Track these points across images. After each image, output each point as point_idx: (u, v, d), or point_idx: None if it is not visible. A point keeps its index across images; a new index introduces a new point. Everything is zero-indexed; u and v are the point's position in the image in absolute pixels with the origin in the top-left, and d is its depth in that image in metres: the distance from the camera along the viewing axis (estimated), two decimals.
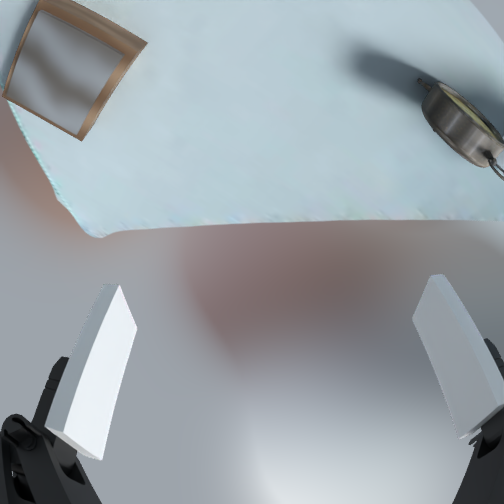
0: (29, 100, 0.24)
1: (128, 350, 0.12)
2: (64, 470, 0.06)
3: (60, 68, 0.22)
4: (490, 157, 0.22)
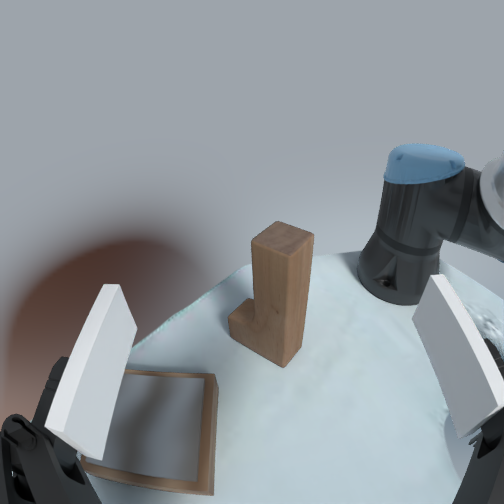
0: None
1: (128, 350, 0.12)
2: (64, 470, 0.06)
3: (152, 424, 0.26)
4: None
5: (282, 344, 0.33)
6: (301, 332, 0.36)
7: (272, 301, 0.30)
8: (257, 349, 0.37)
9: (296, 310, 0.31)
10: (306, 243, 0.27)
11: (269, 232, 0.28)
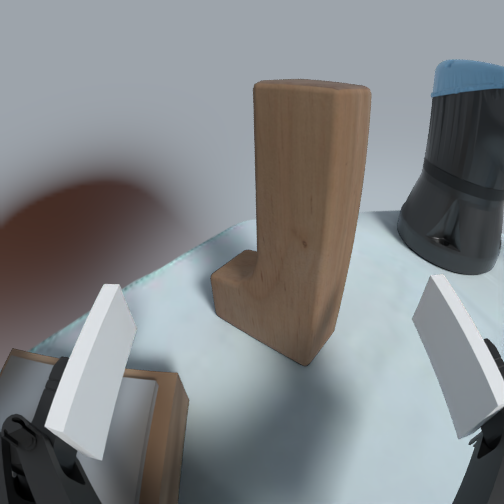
0: (0, 401, 0.12)
1: (128, 350, 0.12)
2: (64, 470, 0.06)
3: None
4: None
5: (308, 319, 0.17)
6: (338, 300, 0.20)
7: (294, 219, 0.15)
8: (261, 332, 0.22)
9: (340, 245, 0.16)
10: (361, 91, 0.12)
11: None
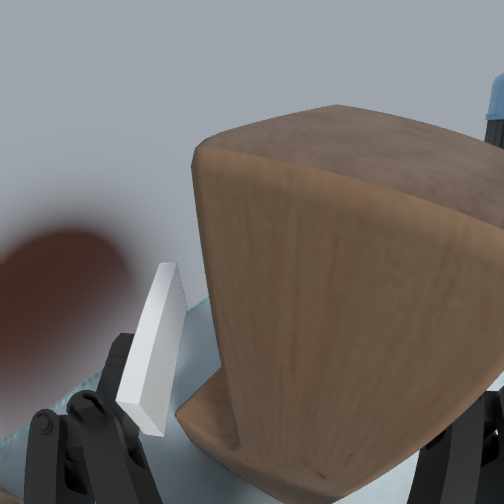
0: None
1: (182, 327, 0.13)
2: None
3: None
4: None
5: None
6: None
7: (306, 454, 0.06)
8: (249, 480, 0.13)
9: None
10: None
11: (314, 118, 0.04)
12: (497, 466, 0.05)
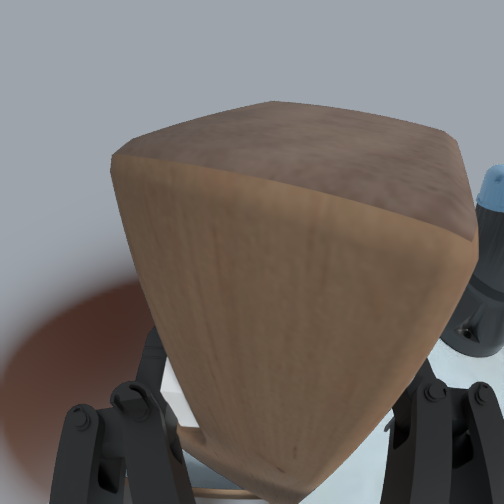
0: None
1: None
2: None
3: None
4: None
5: (290, 500, 0.09)
6: None
7: (258, 447, 0.06)
8: (227, 477, 0.13)
9: None
10: (463, 165, 0.03)
11: (231, 116, 0.04)
12: (473, 468, 0.05)
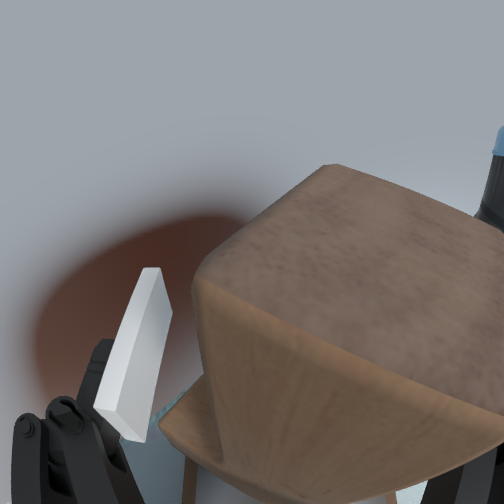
0: None
1: (166, 333, 0.12)
2: None
3: None
4: None
5: None
6: None
7: (288, 482, 0.06)
8: (230, 483, 0.13)
9: None
10: None
11: (320, 213, 0.04)
12: None
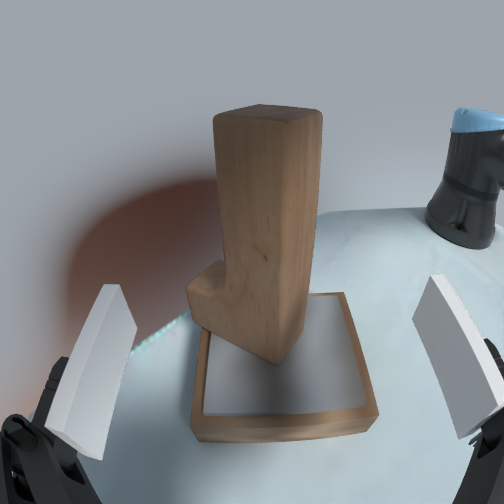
0: None
1: (128, 350, 0.12)
2: (64, 470, 0.06)
3: (294, 348, 0.24)
4: None
5: (275, 322, 0.20)
6: (304, 304, 0.22)
7: (254, 236, 0.17)
8: (235, 336, 0.23)
9: (298, 256, 0.18)
10: (312, 117, 0.14)
11: (245, 109, 0.15)
12: None
